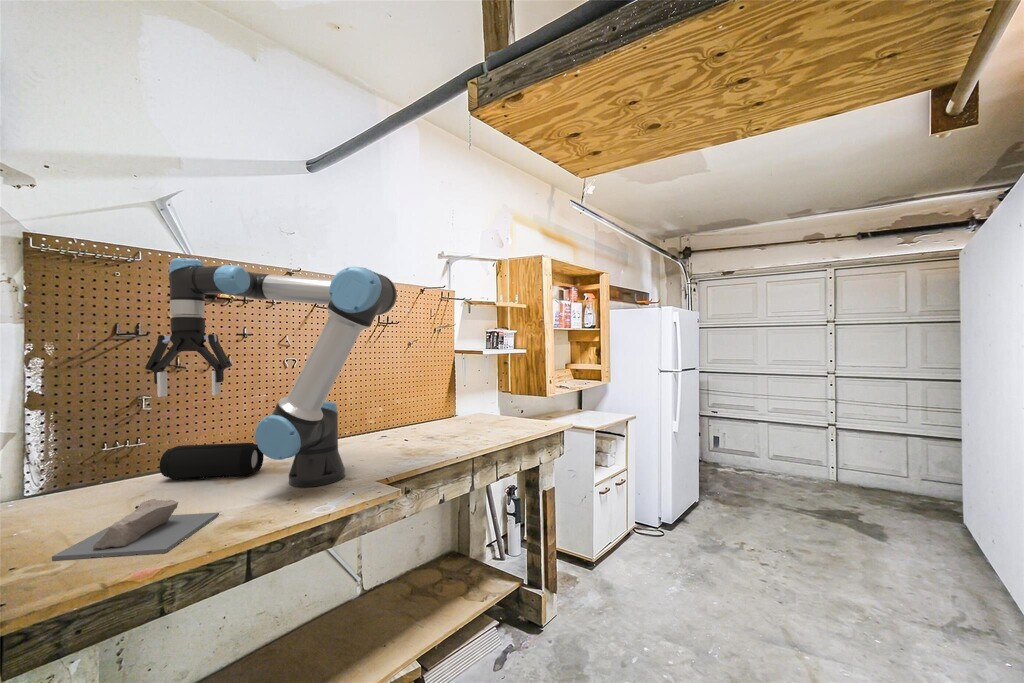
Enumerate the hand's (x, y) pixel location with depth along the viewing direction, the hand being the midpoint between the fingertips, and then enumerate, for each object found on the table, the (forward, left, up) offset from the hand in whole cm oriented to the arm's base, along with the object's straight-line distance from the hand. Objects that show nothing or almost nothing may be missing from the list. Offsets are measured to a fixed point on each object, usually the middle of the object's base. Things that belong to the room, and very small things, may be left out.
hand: (189, 395), depth 117 cm
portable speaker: (+3, -16, -27) cm, 31 cm away
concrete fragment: (-6, +27, -26) cm, 38 cm away
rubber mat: (-6, +26, -27) cm, 38 cm away
